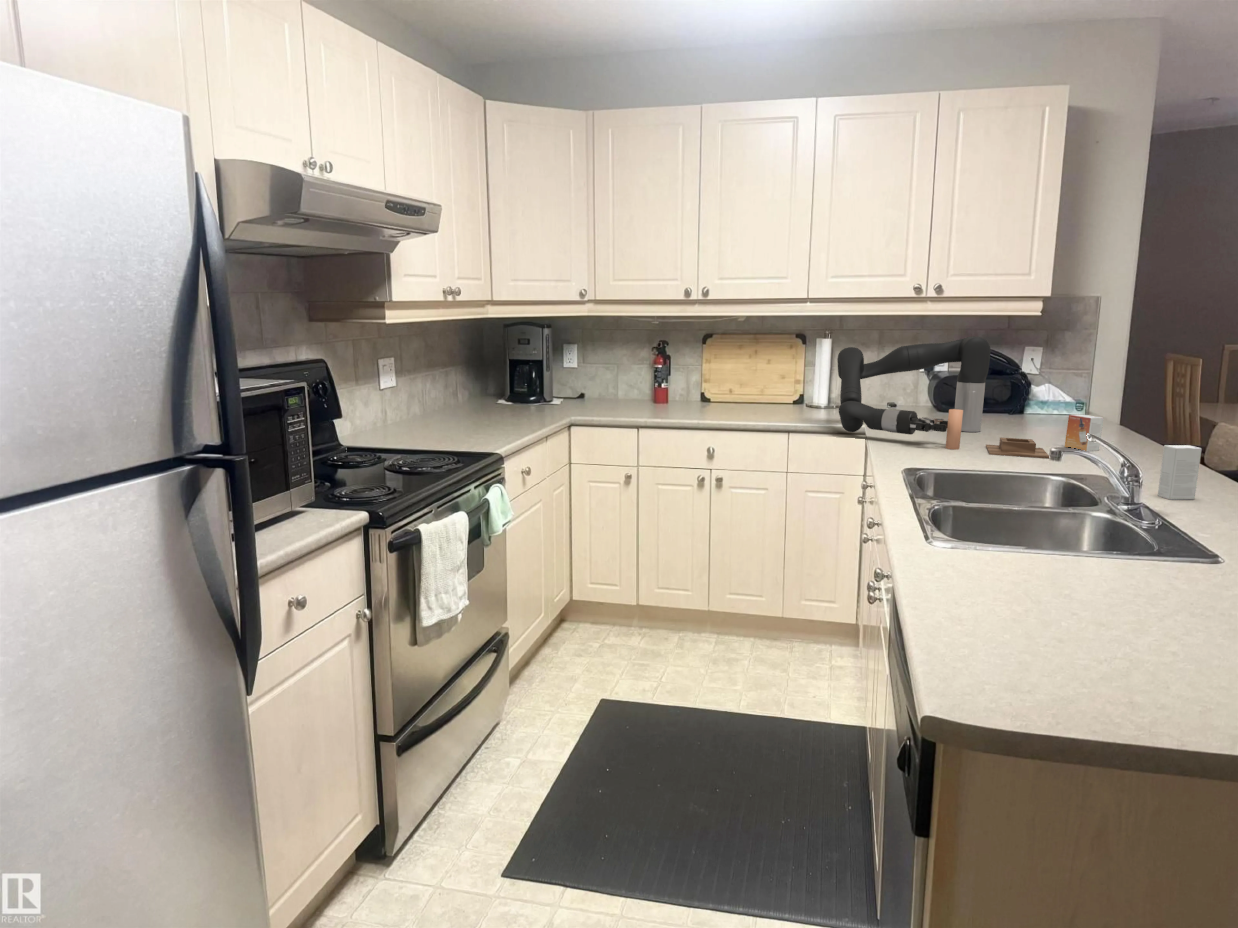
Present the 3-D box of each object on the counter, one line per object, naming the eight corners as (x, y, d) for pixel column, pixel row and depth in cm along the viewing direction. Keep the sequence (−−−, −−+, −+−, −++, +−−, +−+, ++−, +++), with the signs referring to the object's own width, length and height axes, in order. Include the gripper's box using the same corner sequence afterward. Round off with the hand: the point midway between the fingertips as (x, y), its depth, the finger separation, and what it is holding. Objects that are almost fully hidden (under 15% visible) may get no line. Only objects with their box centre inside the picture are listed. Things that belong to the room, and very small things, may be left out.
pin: (945, 447, 250) (948, 408, 248) (959, 447, 249) (962, 409, 246) (945, 448, 246) (949, 410, 244) (959, 449, 245) (963, 411, 243)
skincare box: (1181, 495, 186) (1189, 445, 184) (1194, 499, 182) (1203, 448, 180) (1155, 495, 186) (1163, 444, 184) (1168, 499, 182) (1176, 447, 180)
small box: (1063, 447, 253) (1067, 414, 251) (1076, 446, 255) (1081, 413, 253) (1086, 451, 246) (1090, 417, 244) (1099, 450, 248) (1104, 417, 246)
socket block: (985, 446, 252) (986, 435, 252) (1042, 450, 247) (1043, 438, 246) (989, 454, 238) (990, 442, 237) (1049, 458, 232) (1051, 446, 232)
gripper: (906, 430, 263) (957, 436, 253) (889, 435, 253) (941, 441, 242) (908, 408, 262) (959, 412, 252) (891, 412, 251) (944, 417, 241)
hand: (950, 427), depth 247 cm, fingers open, 8 cm apart
